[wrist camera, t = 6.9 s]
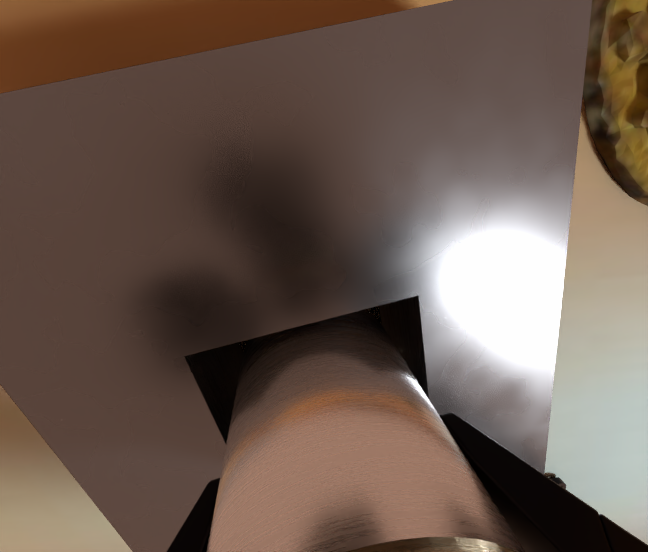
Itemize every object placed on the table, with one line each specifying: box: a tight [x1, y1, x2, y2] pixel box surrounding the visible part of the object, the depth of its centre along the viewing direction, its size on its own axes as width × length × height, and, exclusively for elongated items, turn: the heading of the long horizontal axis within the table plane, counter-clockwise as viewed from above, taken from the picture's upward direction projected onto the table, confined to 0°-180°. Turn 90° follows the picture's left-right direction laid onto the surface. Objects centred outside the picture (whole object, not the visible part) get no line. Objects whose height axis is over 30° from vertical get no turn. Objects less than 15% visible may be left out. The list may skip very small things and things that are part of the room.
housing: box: [0, 0, 592, 552], centre depth 12 cm, size 20×16×5 cm
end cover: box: [207, 309, 525, 552], centre depth 8 cm, size 6×6×8 cm
